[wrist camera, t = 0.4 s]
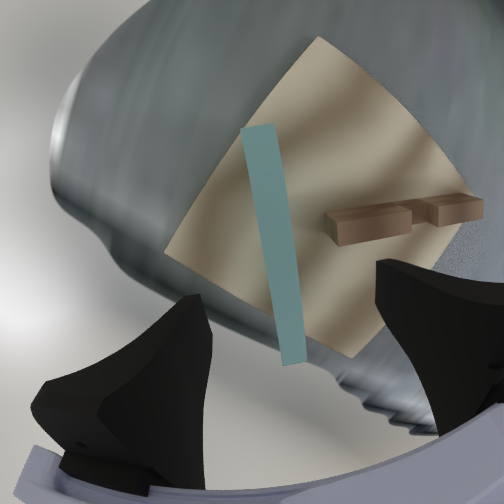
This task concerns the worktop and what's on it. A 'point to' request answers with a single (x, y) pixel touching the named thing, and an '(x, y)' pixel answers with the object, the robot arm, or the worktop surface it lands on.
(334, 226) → the brown notched bar
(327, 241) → the ash board
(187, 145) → the worktop surface
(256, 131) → the teal bar
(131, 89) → the worktop surface
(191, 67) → the worktop surface
